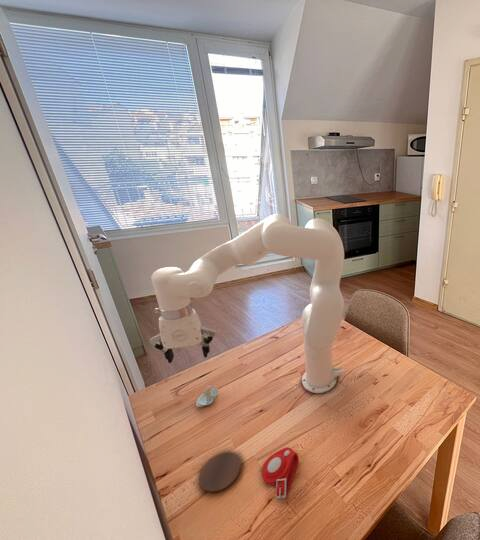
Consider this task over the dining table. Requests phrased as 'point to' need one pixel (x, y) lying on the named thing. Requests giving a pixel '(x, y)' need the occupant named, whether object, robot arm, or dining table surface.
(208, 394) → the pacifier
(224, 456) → the dark brown coaster
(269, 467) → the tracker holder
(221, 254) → the robot arm
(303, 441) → the dining table surface
